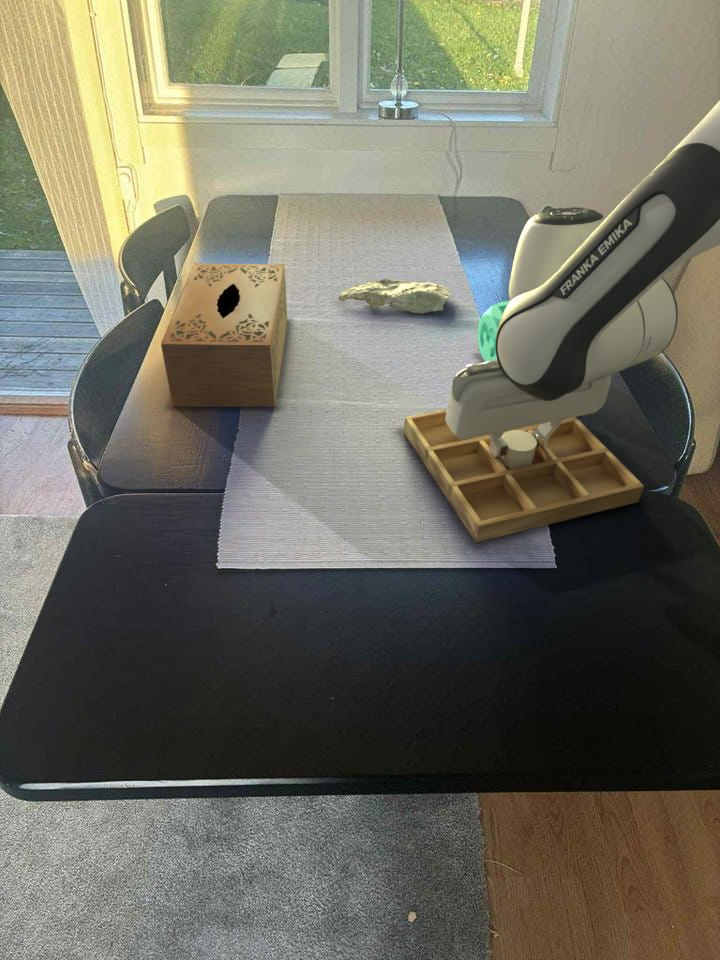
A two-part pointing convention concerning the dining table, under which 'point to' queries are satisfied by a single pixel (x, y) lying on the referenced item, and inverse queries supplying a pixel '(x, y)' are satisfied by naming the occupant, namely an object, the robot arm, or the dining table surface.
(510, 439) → the white cylinder
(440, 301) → the rock
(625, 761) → the dining table surface
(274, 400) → the tissue box cover
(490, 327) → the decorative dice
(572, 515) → the board
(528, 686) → the dining table surface
